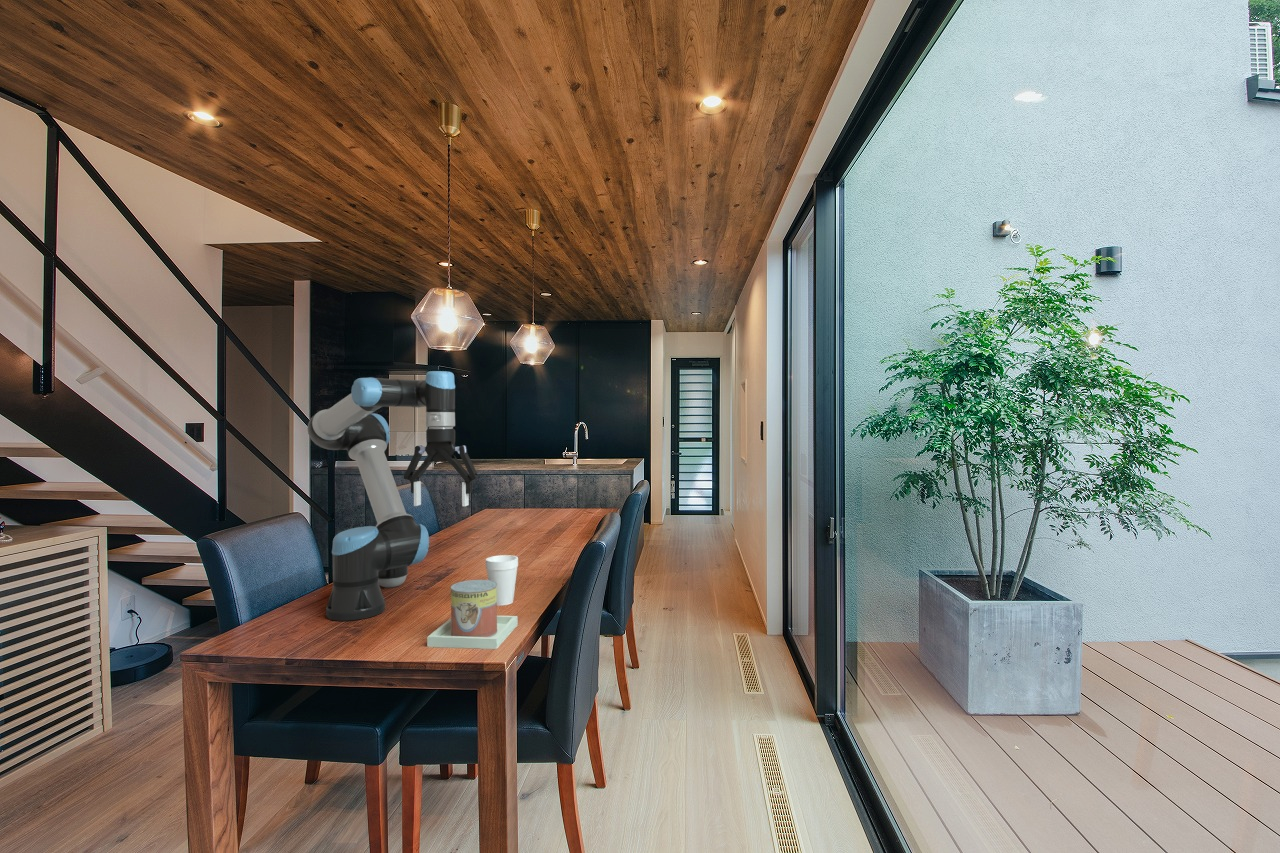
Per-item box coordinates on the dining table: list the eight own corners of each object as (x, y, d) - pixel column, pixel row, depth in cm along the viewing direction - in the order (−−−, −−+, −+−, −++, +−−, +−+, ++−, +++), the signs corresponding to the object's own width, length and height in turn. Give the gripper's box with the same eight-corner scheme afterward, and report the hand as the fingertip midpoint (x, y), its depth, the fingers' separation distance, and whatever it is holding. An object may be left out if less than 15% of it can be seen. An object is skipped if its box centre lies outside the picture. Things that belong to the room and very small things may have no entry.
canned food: (444, 640, 150) (443, 591, 150) (459, 625, 161) (459, 579, 161) (490, 641, 149) (489, 591, 149) (502, 625, 161) (502, 579, 161)
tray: (427, 646, 148) (427, 636, 148) (455, 623, 165) (455, 614, 165) (496, 649, 146) (496, 639, 146) (517, 625, 163) (517, 616, 163)
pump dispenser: (401, 589, 197) (400, 542, 197) (369, 589, 197) (368, 542, 197) (413, 581, 207) (413, 536, 207) (382, 581, 208) (382, 536, 207)
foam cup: (499, 609, 177) (499, 563, 177) (479, 603, 182) (478, 559, 182) (525, 601, 184) (524, 557, 184) (504, 595, 190) (504, 553, 190)
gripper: (390, 428, 166) (391, 507, 167) (480, 428, 164) (480, 507, 164) (403, 427, 174) (404, 503, 174) (489, 427, 171) (490, 504, 172)
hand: (441, 505), depth 169 cm, fingers open, 13 cm apart
